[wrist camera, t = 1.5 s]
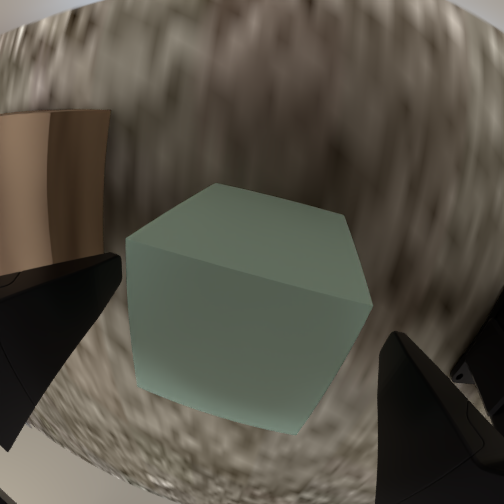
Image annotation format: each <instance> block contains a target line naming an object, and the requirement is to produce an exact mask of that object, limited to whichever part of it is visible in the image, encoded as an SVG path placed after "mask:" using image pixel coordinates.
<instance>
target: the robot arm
mask: <svg viewBox="0 0 504 504" xmlns="http://www.w3.org/2000/svg"><path fill="white" fill-rule="evenodd" d="M121 280H122V261H121V257H120V256H119V255H117V254H114V253H111V252H108V253H103V254H98V255H93V256H89V257H84V258H79V259H74V260H69V261H65V262H60V263H55V264H51V265H46V266H42V267H37V268H33V269H28V270H24V271H22V272H20V271H19V272H15V273H10V274H6V275H1V276H0V445H1V446H2V447H3V448H4V449H5V450H6V451H7V452H8V451H9V450H10V449H11V447H12V445H13V443H14V442H15V440H16V438H17V436H18V435H19V433H20V431H21V430H22V428H23V426H24V424H25V423H26V421H27V420H28V418H29V416H30V415H31V413H32V412H33V410H34V408H35V406H36V405H37V403H38V402H39V400H40V399H41V397H42V396H43V394H44V393H45V391H46V390H47V388H48V387H49V385H50V384H51V382H52V381H53V379H54V378H55V376H56V375H57V373H58V372H59V370H60V369H61V368H62V366H63V365H64V363H65V362H66V360H67V359H68V358H69V356H70V355H71V353H72V352H73V351H74V349H75V348H76V347H77V345H78V344H79V343H80V341H81V340H82V338H83V337H84V336H85V334H86V333H87V332H88V331H89V329H90V328H91V327H92V325H93V324H94V323H95V321H96V320H97V319H98V317H99V316H100V314H101V313H102V311H103V310H104V308H105V307H106V305H107V304H108V302H109V300H110V299H111V297H112V296H113V294H114V293H115V291H116V289H117V288H118V286H119V285H120V283H121ZM450 376H451V379H452V381H453V382H454V383H466V384H475V385H476V387H477V390H478V392H479V395H480V397H481V400H482V402H483V405H484V408H485V410H486V413H487V415H488V416H490V419H491V421H492V424H493V426H492V425H491V424H490V423H489V422H488V421H487V420H486V419H485V418H484V417H483V415H482V414H481V413H480V412H479V411H478V410H477V409H476V408H475V407H474V406H473V404H472V403H471V402H470V401H468V399H467V398H466V397H465V396H464V395H463V393H462V392H461V391H460V390H459V389H458V388H457V387H456V386H455V385H454V384H453V383H452V382H451V380H450V379H449V378H448V377H447V376H446V375H445V374H444V373H443V372H442V371H441V370H440V369H439V368H438V367H437V366H436V365H435V364H434V363H433V362H432V360H431V359H430V358H429V357H428V356H427V355H426V354H425V353H424V352H423V351H422V350H421V349H420V348H419V347H418V346H417V345H416V344H415V343H414V342H413V341H412V340H411V339H410V338H409V337H408V336H407V335H406V334H405V333H402V332H398V331H393V332H392V333H391V334H390V335H389V337H388V339H387V340H386V342H385V344H384V345H383V347H382V349H381V351H380V354H379V373H378V391H377V406H378V464H377V484H376V497H375V504H504V290H503V292H502V294H501V296H500V298H499V300H498V302H497V303H496V305H495V307H494V309H493V310H492V312H491V314H490V316H489V317H488V319H487V321H486V322H485V324H484V326H483V327H482V329H481V330H480V332H479V333H478V335H477V337H476V338H475V340H474V341H473V343H472V344H471V346H470V347H469V348H468V350H467V351H466V353H465V354H464V356H463V357H462V358H461V360H460V361H459V362H458V364H457V365H456V366H455V368H454V369H453V370H452V372H451V373H450ZM0 504H17V503H15V502H14V501H13V500H12V499H11V498H10V497H9V496H8V495H7V494H6V493H5V492H4V491H3V490H2V489H1V488H0Z"/></svg>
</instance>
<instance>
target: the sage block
mask: <svg viewBox="0 0 504 504" xmlns="http://www.w3.org/2000/svg"><path fill="white" fill-rule="evenodd" d="M126 279H127V298H128V312H129V324H130V334H131V343H132V352H133V360H134V367H135V374H136V380H137V386H138V387H140V388H142V389H144V390H147V391H149V392H151V393H154V394H156V395H159V396H161V397H164V398H166V399H169V400H171V401H174V402H177V403H179V404H182V405H185V406H188V407H191V408H193V409H196V410H199V411H202V412H205V413H208V414H212V415H215V416H218V417H221V418H225V419H228V420H232V421H235V422H239V423H243V424H246V425H250V426H254V427H258V428H263V429H267V430H271V431H276V432H281V433H286V434H291V435H297V433H298V432H299V431H300V429H301V428H302V426H303V425H304V424H305V422H306V421H307V419H308V418H309V416H310V415H311V413H312V412H313V410H314V409H315V407H316V406H317V404H318V403H319V401H320V400H321V398H322V397H323V395H324V393H325V392H326V390H327V389H328V387H329V386H330V384H331V382H332V381H333V379H334V377H335V376H336V374H337V372H338V371H339V369H340V367H341V366H342V364H343V362H344V360H345V359H346V357H347V355H348V353H349V351H350V350H351V348H352V346H353V344H354V342H355V340H356V339H357V337H358V335H359V333H360V331H361V329H362V327H363V325H364V323H365V321H366V319H367V317H368V315H369V313H370V311H371V309H372V307H373V304H372V300H371V297H370V293H369V290H368V286H367V283H366V280H365V276H364V273H363V270H362V267H361V263H360V260H359V257H358V254H357V251H356V248H355V245H354V242H353V239H352V236H351V234H350V231H349V228H348V225H347V222H346V219H345V217H344V215H341V214H338V213H334V212H331V211H327V210H324V209H320V208H317V207H313V206H309V205H306V204H302V203H298V202H294V201H290V200H286V199H282V198H279V197H275V196H271V195H266V194H262V193H258V192H254V191H250V190H245V189H241V188H237V187H232V186H228V185H223V184H219V183H214V184H213V185H211V186H209V187H207V188H206V189H204V190H202V191H200V192H199V193H197V194H195V195H194V196H192V197H190V198H189V199H187V200H185V201H184V202H182V203H180V204H179V205H177V206H175V207H174V208H172V209H170V210H169V211H167V212H166V213H164V214H162V215H161V216H159V217H158V218H156V219H155V220H153V221H151V222H150V223H148V224H147V225H145V226H144V227H142V228H141V229H139V230H138V231H136V232H134V233H133V234H131V235H130V236H128V237H127V238H126Z"/></svg>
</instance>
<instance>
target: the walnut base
mask: <svg viewBox="0 0 504 504" xmlns="http://www.w3.org/2000/svg"><path fill="white" fill-rule="evenodd" d="M110 114H111V110H93V109H65V110H39V111H24V112H13V113H4V114H0V276H1V275H6V274H10V273H15V272H19V271H20V272H22V271H24V270H28V269H33V268H37V267H42V266H46V265H51V264H55V263H60V262H65V261H69V260H74V259H79V258H84V257H89V256H93V255H98V254H103V253H104V250H103V192H104V172H105V159H106V147H107V138H108V129H109V121H110Z"/></svg>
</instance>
